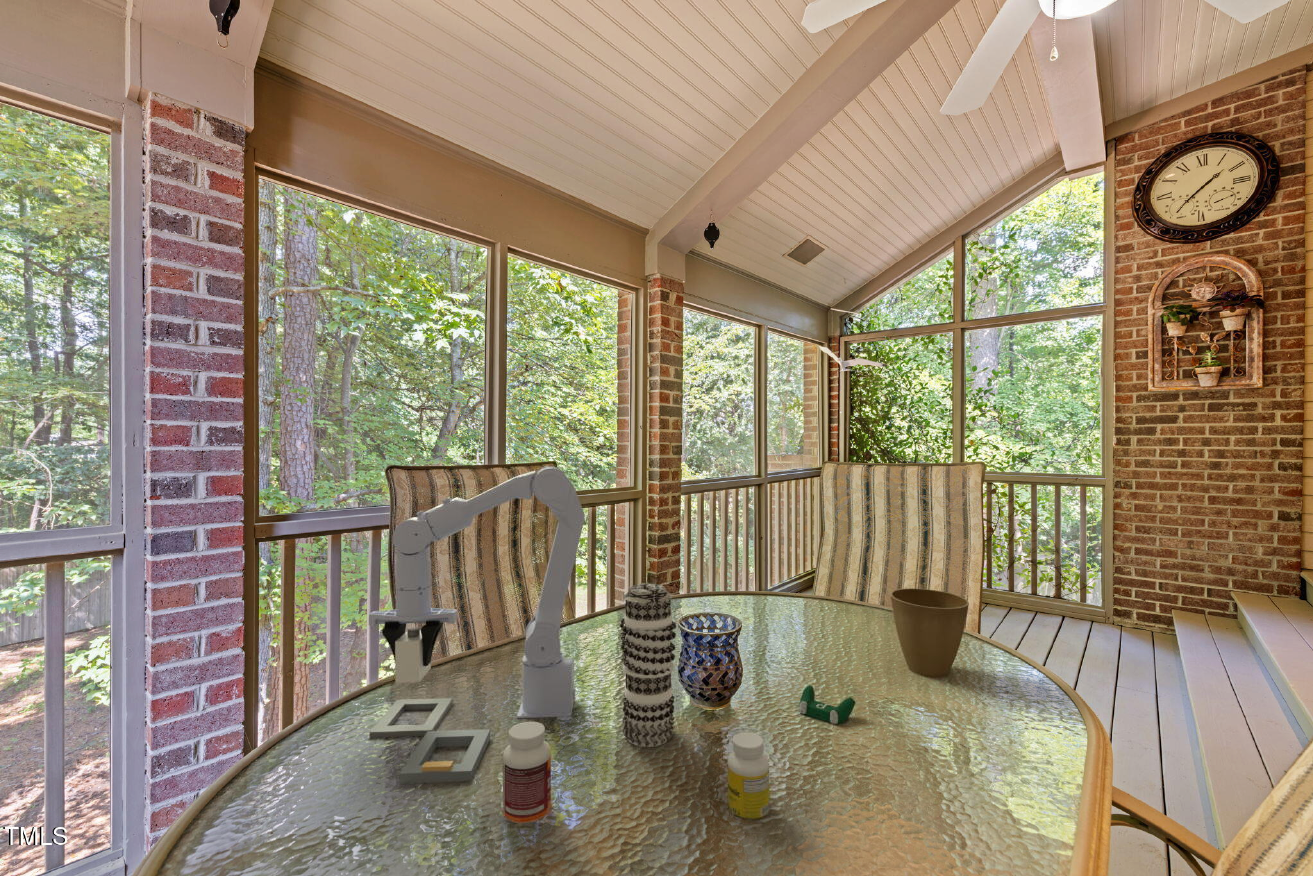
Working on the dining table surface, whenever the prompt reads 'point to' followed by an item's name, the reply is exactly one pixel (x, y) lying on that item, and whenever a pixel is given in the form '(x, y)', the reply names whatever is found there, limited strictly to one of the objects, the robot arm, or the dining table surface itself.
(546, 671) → the robot arm
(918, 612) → the plant pot
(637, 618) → the decorative candle
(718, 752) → the dining table surface
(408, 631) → the plug
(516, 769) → the pill bottle
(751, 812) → the supplement bottle
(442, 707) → the square frame plate
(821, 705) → the gaming controller
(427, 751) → the port
